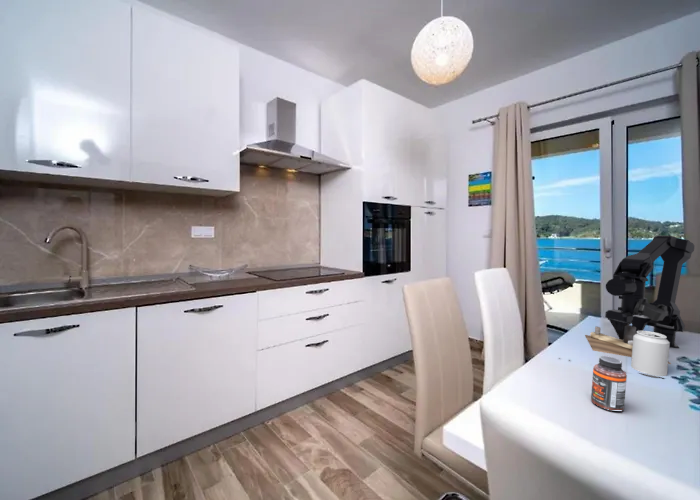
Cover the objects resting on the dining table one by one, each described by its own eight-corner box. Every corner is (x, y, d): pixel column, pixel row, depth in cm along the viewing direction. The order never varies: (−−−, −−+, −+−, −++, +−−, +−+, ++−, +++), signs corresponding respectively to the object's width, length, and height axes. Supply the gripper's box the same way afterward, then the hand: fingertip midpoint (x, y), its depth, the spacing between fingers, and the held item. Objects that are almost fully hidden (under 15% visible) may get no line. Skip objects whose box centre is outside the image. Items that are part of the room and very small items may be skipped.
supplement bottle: (584, 399, 73) (587, 354, 73) (606, 398, 74) (609, 353, 73) (607, 414, 67) (610, 364, 67) (631, 413, 68) (635, 364, 67)
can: (674, 381, 83) (678, 338, 83) (642, 378, 85) (646, 336, 84) (653, 369, 91) (656, 330, 90) (624, 366, 92) (627, 328, 92)
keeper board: (584, 337, 119) (585, 325, 118) (651, 347, 109) (652, 334, 108) (592, 353, 102) (593, 339, 102) (672, 367, 92) (673, 352, 92)
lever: (588, 336, 116) (589, 317, 115) (595, 335, 117) (596, 316, 117) (644, 353, 99) (646, 331, 99) (652, 352, 101) (653, 330, 100)
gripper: (646, 300, 93) (642, 349, 94) (679, 297, 100) (675, 343, 101) (605, 293, 104) (602, 338, 105) (638, 291, 110) (634, 332, 111)
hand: (629, 338), depth 105 cm, fingers open, 9 cm apart
